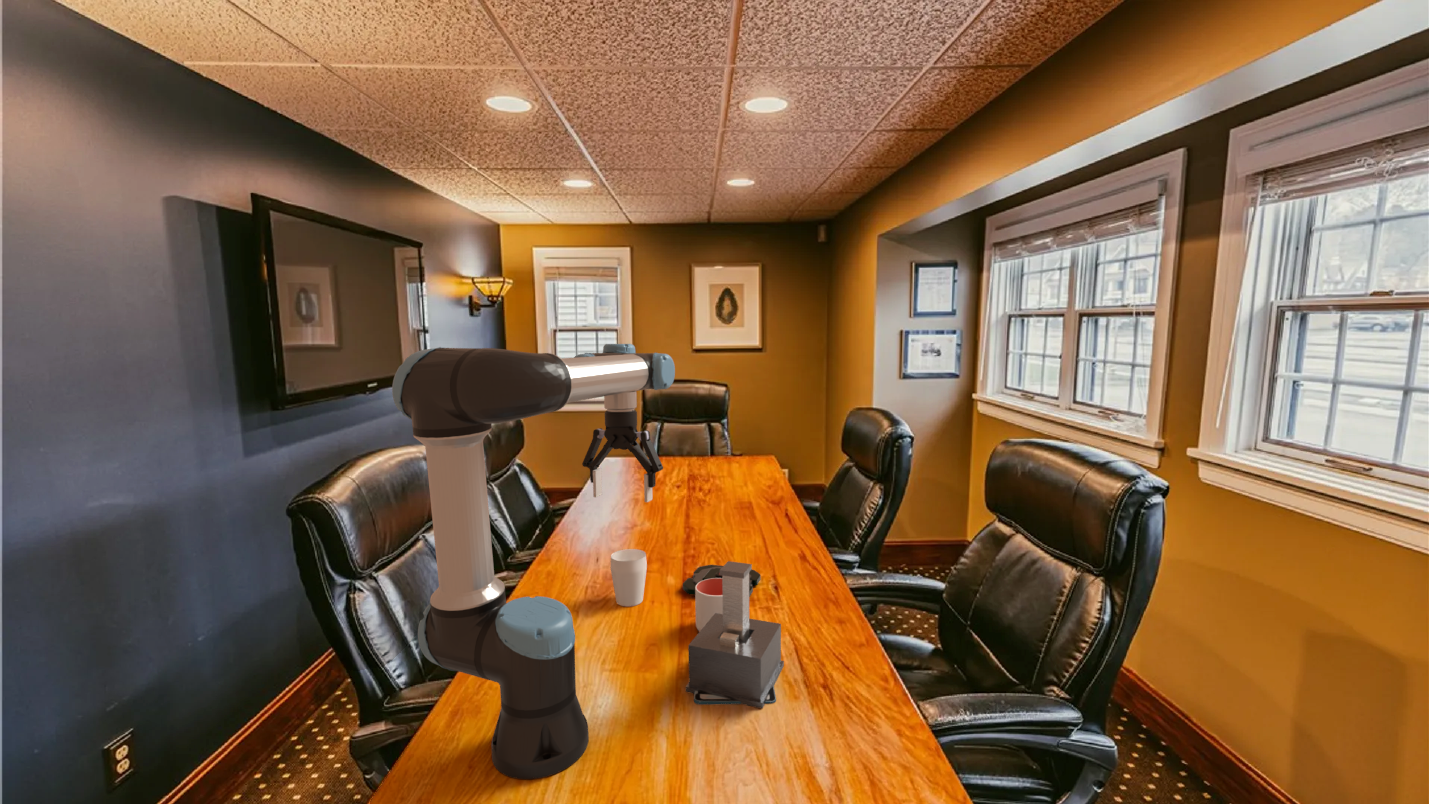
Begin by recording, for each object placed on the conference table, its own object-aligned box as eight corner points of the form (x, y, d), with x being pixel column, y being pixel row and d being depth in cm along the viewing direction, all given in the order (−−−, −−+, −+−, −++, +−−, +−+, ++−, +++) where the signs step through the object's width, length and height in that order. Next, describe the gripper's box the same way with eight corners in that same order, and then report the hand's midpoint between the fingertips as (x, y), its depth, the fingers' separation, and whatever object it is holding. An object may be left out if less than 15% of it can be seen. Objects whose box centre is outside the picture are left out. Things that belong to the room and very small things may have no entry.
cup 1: (641, 610, 147) (639, 562, 146) (606, 607, 149) (604, 560, 147) (652, 594, 156) (651, 549, 154) (619, 592, 157) (617, 547, 156)
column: (744, 680, 114) (743, 573, 112) (720, 675, 116) (719, 570, 114) (752, 667, 119) (751, 564, 116) (729, 662, 120) (728, 561, 118)
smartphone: (776, 701, 109) (693, 701, 109) (776, 706, 109) (693, 706, 109) (772, 678, 116) (694, 678, 116) (772, 683, 117) (694, 683, 116)
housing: (762, 708, 108) (762, 652, 107) (685, 691, 113) (684, 638, 112) (783, 665, 122) (783, 615, 120) (714, 652, 127) (713, 604, 126)
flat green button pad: (745, 607, 149) (745, 589, 148) (678, 597, 155) (677, 580, 154) (763, 579, 166) (763, 563, 165) (702, 571, 172) (701, 556, 171)
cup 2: (701, 642, 131) (701, 598, 130) (691, 621, 141) (690, 580, 140) (745, 636, 134) (745, 592, 133) (732, 616, 143) (732, 575, 142)
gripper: (676, 409, 141) (677, 498, 143) (583, 406, 149) (585, 490, 151) (662, 413, 134) (663, 507, 136) (566, 409, 142) (568, 497, 144)
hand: (622, 498), depth 144 cm, fingers open, 13 cm apart
